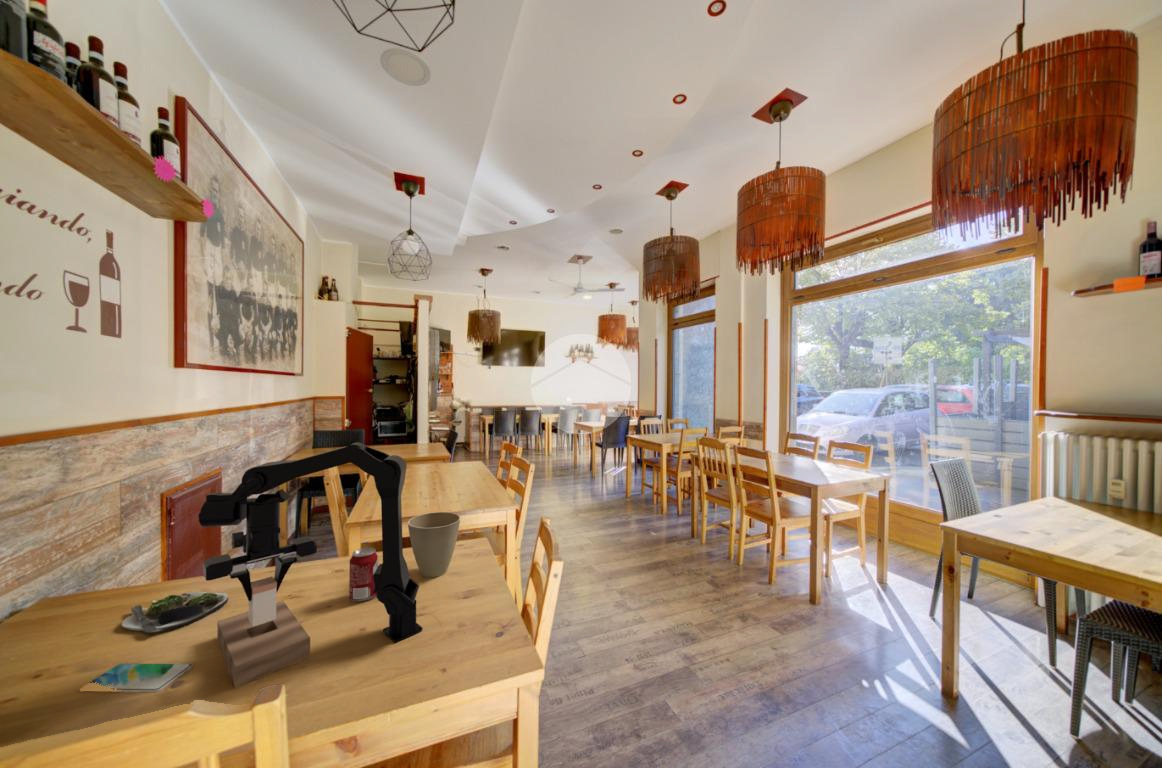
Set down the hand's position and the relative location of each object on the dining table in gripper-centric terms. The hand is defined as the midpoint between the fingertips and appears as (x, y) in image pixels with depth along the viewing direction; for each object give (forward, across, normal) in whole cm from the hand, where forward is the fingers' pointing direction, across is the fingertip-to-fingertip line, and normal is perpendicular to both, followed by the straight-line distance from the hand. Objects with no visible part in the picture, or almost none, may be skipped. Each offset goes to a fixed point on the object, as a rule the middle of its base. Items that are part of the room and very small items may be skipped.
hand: (262, 596), depth 89 cm
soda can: (+11, -23, -7) cm, 27 cm away
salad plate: (+12, +11, -31) cm, 35 cm away
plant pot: (+11, -43, -7) cm, 45 cm away
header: (+11, 0, 0) cm, 11 cm away
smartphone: (+12, +18, -6) cm, 22 cm away
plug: (+5, 0, 0) cm, 5 cm away
